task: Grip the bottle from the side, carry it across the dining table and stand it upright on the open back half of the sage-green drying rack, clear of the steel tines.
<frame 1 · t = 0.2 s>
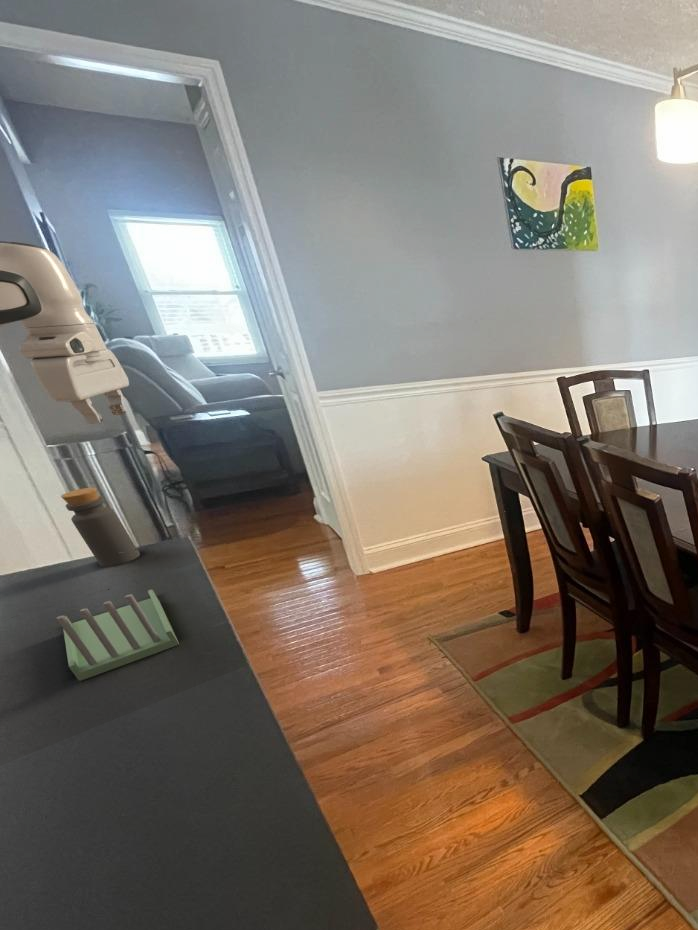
hand: (108, 418, 115), 26 cm above the table, tool pointing down, fingers open, 8 cm apart
drying rack: (123, 637, 93), on the table
bottle: (123, 564, 117), on the table
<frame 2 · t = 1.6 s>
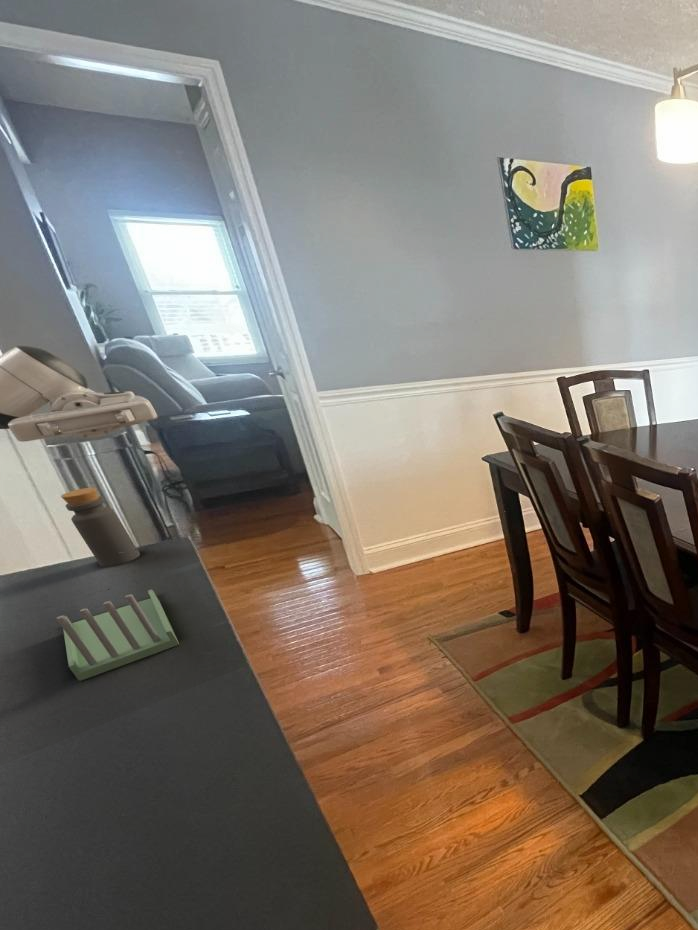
hand: (89, 425, 113), 25 cm above the table, tool horizontal, fingers open, 8 cm apart
nothing on the table moved.
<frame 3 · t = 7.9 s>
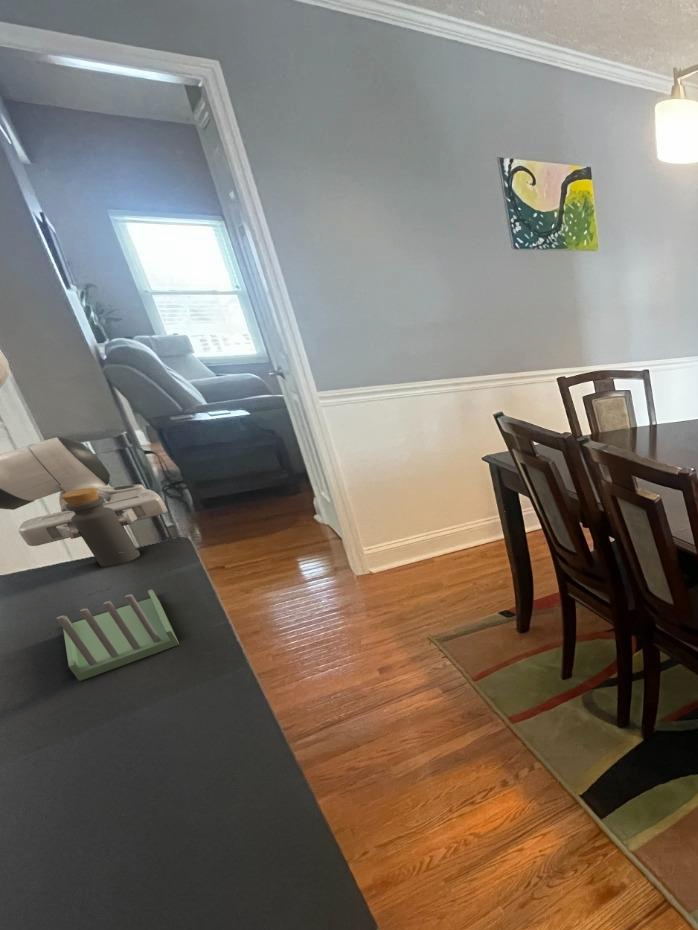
hand: (100, 527, 113), 8 cm above the table, tool horizontal, fingers closed on bottle, 5 cm apart
bottle: (123, 564, 117), on the table, touching gripper
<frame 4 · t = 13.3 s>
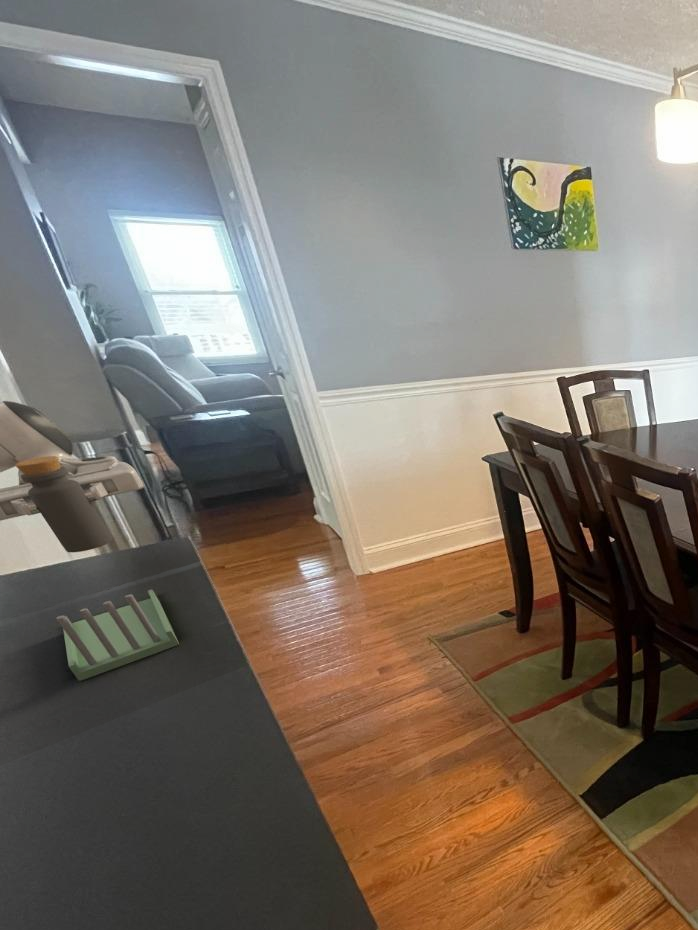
hand: (62, 502, 97), 18 cm above the table, tool horizontal, fingers closed on bottle, 5 cm apart
bottle: (90, 546, 101), point 10 cm above the table, touching gripper
when the fingers open (9 cm above the table, at t = 18.9 s): bottle stays where it is, resting on drying rack.
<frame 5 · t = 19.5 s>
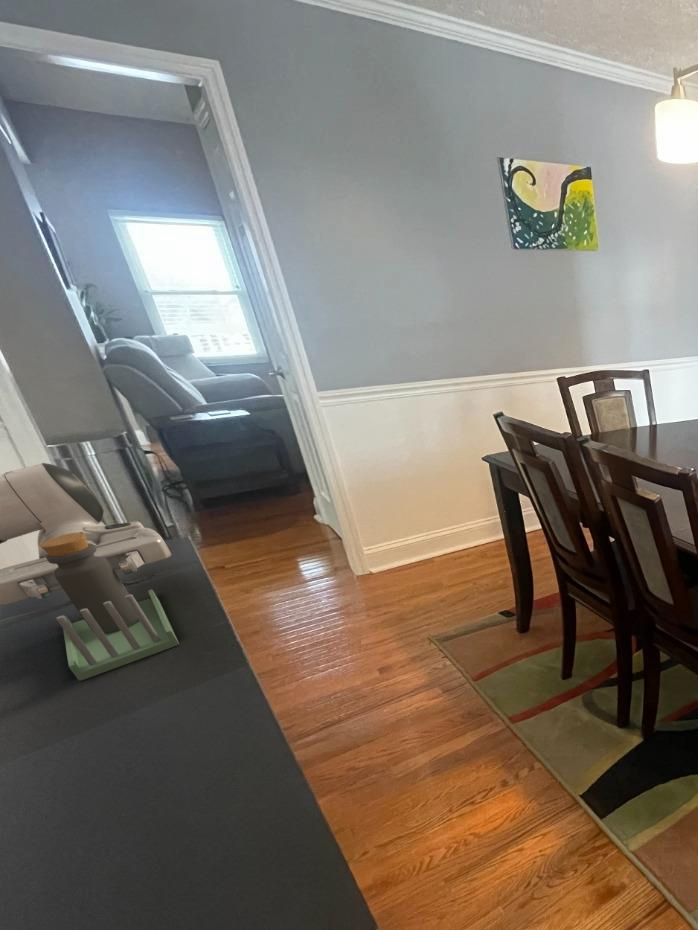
hand: (86, 580, 90), 10 cm above the table, tool horizontal, fingers open, 8 cm apart
bottle: (119, 625, 94), point 1 cm above the table, touching drying rack
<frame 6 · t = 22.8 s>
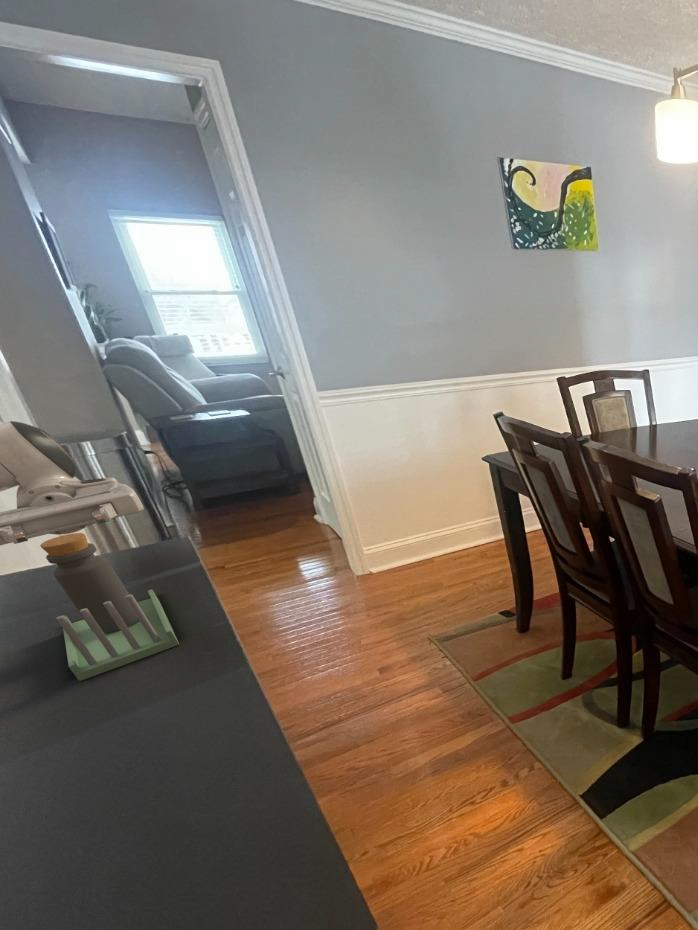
hand: (61, 527, 95), 15 cm above the table, tool horizontal, fingers open, 8 cm apart
nothing on the table moved.
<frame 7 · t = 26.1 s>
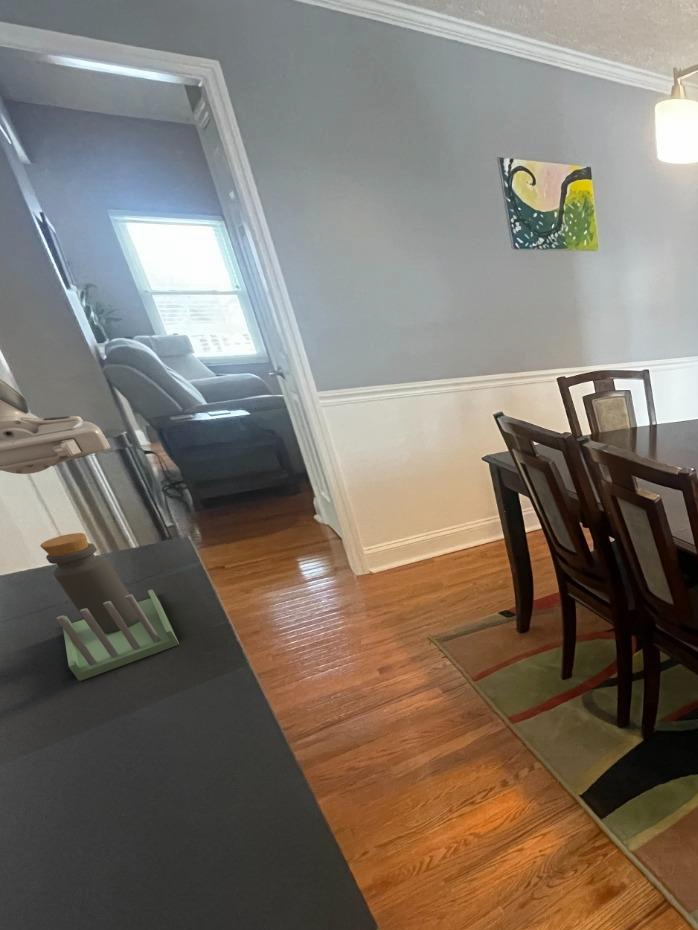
hand: (19, 460, 90), 26 cm above the table, tool horizontal, fingers open, 8 cm apart
nothing on the table moved.
at the end: bottle inside the target area on the drying rack (0.1 cm from its centre), point 1.0 cm above the drying rack's base; bottle tilted 0°; the gripper is holding nothing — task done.
